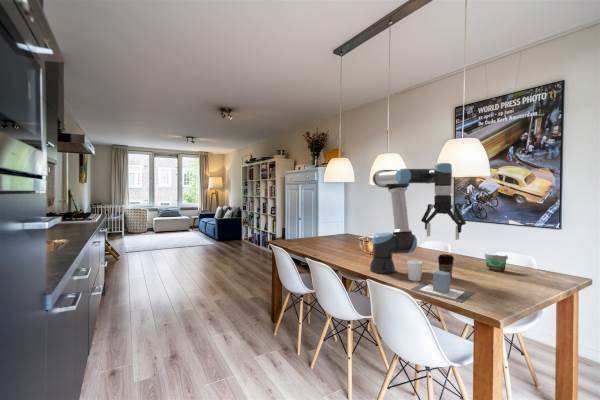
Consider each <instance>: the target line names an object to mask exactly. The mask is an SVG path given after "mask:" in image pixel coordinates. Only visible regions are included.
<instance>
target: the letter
mask: <svg viewBox="0 0 600 400" xmlns="http://www.w3.org/2000/svg"><path fill="white" fill-rule="evenodd" d="M420 290H422V291H426V292H430V293H434V294H438V295H442V296H446V297H450V298H454V299H456V298H457V297H459V296H460V295H461V294H463V293H464V291H459V290H455V289H451V288H450V291H449V292H448V293H446V294H445V293H441V292H436V291H433V284H429V285H427V286H425V287H423V288H421V289H420Z"/></svg>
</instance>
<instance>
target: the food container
mask: <svg viewBox="0 0 600 400" xmlns="http://www.w3.org/2000/svg"><path fill="white" fill-rule="evenodd" d="M483 256H484V257H485V262H486V264H485V265H486V270H488V271H490V272H493V273H494V272H495V273H504V272H505V271H506V267H507V266H506V264H507V260H508V259H509V257H508V255H499V254H488V253H484V255H483Z"/></svg>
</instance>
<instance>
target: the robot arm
mask: <svg viewBox="0 0 600 400" xmlns="http://www.w3.org/2000/svg"><path fill="white" fill-rule="evenodd" d="M452 169H453V166H452V164H451V163H450V162H442V163H441V162H438V163H436V164H435V165H434V168H399V169H381V170H378V171H377V170H376V172H375V173H374V174H373V176H372V181H373V183H374V185H375V186H377V187H380V188H386V189H388V192H389V193H390V195H391V196H390V197H391V205H392V215H393V217H392V218H393V225H394V226H393V227H394V230H393V231H392V232H378V233H376V234H373V236H372V260H371V263H370V265H369V271H370V272H372V273H375V274H381V275H388V274H390V275H391V274H394V273H395V272H396V267H395V263H394V260H393V255H395V254H396V255H398V254H399V255H400V254H411V253H413V252H415V250H416V249H417V247H418V239H417V236H416V235H415V234H413V232H412V231H413V230H411V229H410V228H409V218H408V217H409V216H408V209H407V208H408V207H407V200H406V199H407V198H406V191H407V190H408V187H409V186H410V184H434V200H433V201H434V203H433V204H432V203H429V204H427V207H426V208H427V209H425V210H426V211H425V213H424V214H423V216H422V218H421V222H422V223H424V229H425V230H426V237H431V223H430V222H431V221H432V219H434V218H435V217H436V216H437V215H438V214H439V215H440V214H443V215H445V214H446V215H448V216H449V217H450V218H451V219H452V221H453V222H454V223H455V236H454V237H455V240H456V241H457V240H459V239H460V234H461V233H462V227H463V226H464V225H466V224H467V222H466V220H465V218H464V217H463V214H462V212H461V210H460V207H459V205H458V204H455V205H452V195H451V194H452V180H453V170H452ZM433 208H434V211H432V209H433ZM452 209H453V210H454V212H455V214H456V216H455V214H454V213H453V211H452ZM431 211H432V213H431ZM430 213H431V214H430ZM429 214H430V215H429Z"/></svg>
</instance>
